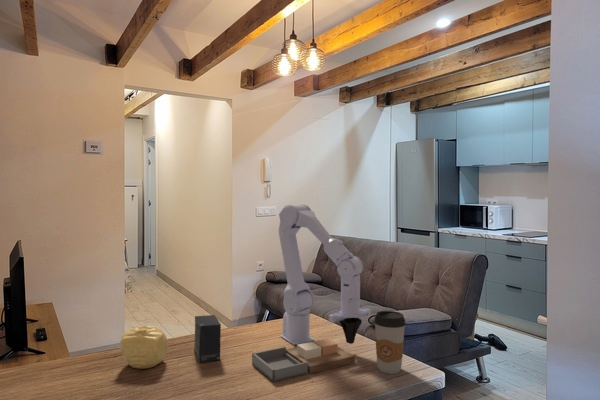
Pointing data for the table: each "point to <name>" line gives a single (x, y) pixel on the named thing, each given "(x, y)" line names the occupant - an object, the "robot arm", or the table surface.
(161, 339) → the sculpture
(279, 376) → the tray
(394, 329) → the coffee cup
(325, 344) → the terracotta tile
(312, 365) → the board
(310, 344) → the cream tile
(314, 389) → the table surface
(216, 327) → the small box
